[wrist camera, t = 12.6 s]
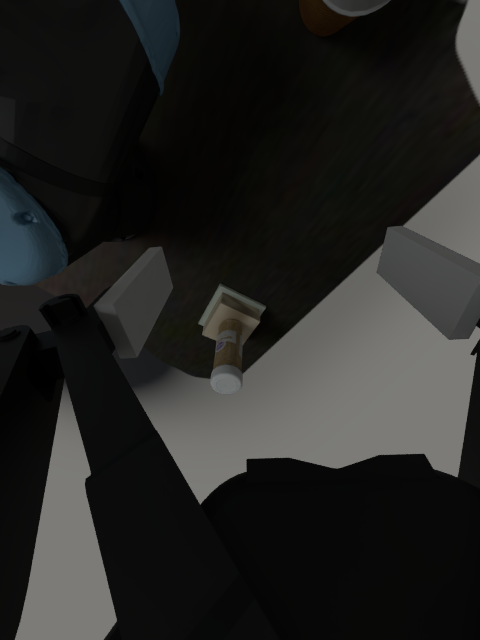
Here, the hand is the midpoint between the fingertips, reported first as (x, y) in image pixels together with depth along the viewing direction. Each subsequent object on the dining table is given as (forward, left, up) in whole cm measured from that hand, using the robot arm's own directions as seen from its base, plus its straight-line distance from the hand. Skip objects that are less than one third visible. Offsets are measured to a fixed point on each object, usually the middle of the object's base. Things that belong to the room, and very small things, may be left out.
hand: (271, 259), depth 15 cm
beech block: (+7, -21, -26) cm, 34 cm away
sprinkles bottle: (+7, -21, -22) cm, 31 cm away
